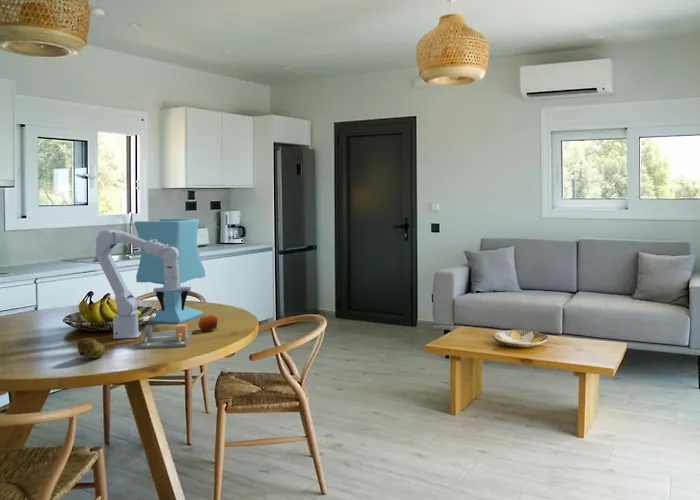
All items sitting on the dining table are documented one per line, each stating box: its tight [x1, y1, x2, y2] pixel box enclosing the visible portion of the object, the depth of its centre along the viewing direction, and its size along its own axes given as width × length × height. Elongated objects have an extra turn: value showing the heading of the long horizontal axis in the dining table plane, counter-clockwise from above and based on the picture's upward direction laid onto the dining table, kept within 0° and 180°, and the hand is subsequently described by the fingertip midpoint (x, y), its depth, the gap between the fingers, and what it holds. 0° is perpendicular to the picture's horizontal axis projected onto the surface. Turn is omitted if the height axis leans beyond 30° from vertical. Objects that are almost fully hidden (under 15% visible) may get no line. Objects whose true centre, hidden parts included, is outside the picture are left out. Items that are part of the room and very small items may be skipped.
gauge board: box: [137, 330, 193, 350], centre depth 258 cm, size 18×22×2 cm
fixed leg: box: [143, 324, 153, 344], centre depth 252 cm, size 2×9×6 cm, turn 7°
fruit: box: [198, 313, 219, 332], centre depth 275 cm, size 8×8×8 cm
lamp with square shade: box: [133, 218, 206, 325], centre depth 299 cm, size 22×22×45 cm
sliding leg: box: [175, 322, 188, 342], centre depth 253 cm, size 4×9×6 cm, turn 7°
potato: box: [76, 337, 106, 359], centre depth 233 cm, size 8×13×8 cm, turn 157°
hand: (173, 310), depth 266 cm, fingers open, 7 cm apart
